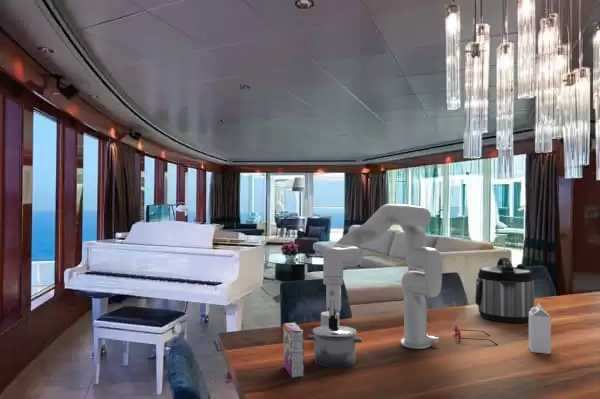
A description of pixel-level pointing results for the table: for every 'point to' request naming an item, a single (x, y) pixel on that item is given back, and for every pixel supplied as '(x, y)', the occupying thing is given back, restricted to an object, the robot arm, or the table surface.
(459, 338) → the glasses
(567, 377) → the table surface
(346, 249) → the robot arm
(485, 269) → the pressure cooker
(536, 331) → the milk carton
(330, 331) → the lid
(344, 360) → the pot
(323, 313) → the cup
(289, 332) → the candy bar box
